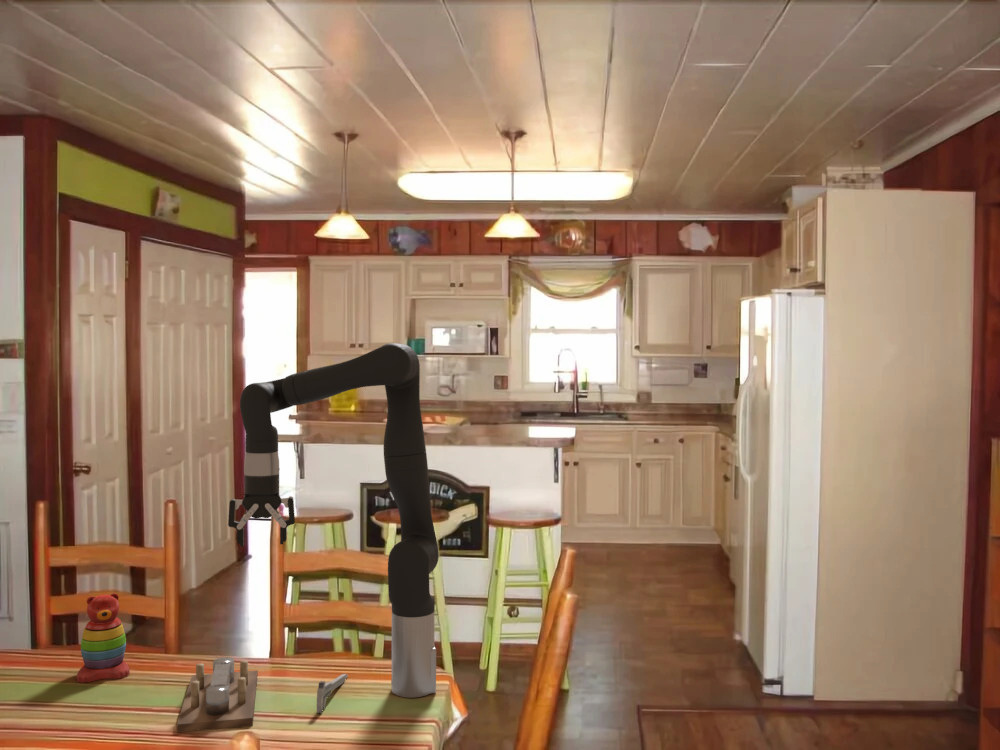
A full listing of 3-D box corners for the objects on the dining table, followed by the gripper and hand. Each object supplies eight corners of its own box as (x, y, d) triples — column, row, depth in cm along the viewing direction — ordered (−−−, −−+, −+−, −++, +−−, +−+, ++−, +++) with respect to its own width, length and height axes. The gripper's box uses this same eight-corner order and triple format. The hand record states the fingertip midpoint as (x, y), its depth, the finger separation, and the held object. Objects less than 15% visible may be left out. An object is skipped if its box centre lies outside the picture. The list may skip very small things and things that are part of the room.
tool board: (257, 677, 196) (257, 648, 196) (252, 725, 171) (252, 692, 171) (191, 682, 193) (191, 652, 193) (177, 732, 168) (176, 698, 168)
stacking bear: (75, 684, 191) (75, 603, 191) (78, 668, 201) (78, 591, 200) (129, 677, 196) (129, 598, 195) (129, 662, 205) (129, 587, 204)
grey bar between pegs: (234, 676, 192) (234, 656, 192) (228, 714, 173) (228, 691, 172) (213, 678, 191) (213, 658, 191) (204, 716, 172) (204, 693, 171)
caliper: (321, 715, 177) (321, 684, 176) (316, 715, 177) (316, 684, 177) (348, 678, 197) (348, 650, 197) (343, 678, 197) (343, 650, 197)
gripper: (294, 469, 200) (294, 539, 200) (229, 470, 196) (229, 542, 197) (294, 473, 192) (294, 547, 193) (227, 475, 189) (227, 550, 189)
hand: (261, 544), depth 195 cm, fingers open, 8 cm apart
